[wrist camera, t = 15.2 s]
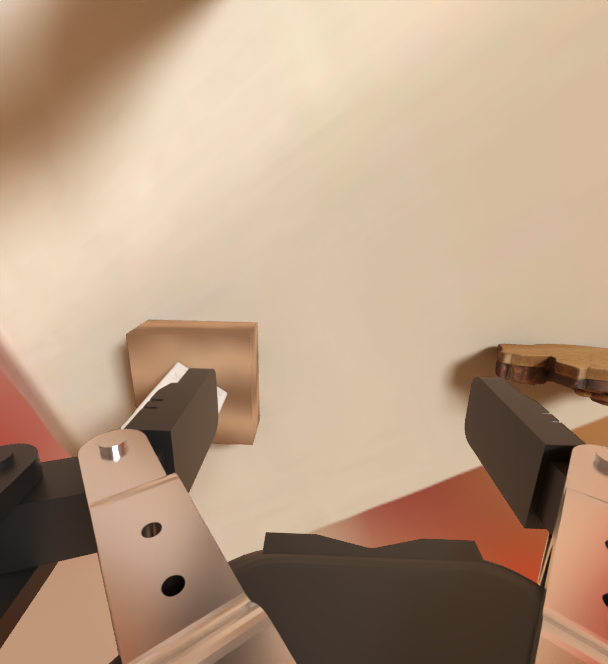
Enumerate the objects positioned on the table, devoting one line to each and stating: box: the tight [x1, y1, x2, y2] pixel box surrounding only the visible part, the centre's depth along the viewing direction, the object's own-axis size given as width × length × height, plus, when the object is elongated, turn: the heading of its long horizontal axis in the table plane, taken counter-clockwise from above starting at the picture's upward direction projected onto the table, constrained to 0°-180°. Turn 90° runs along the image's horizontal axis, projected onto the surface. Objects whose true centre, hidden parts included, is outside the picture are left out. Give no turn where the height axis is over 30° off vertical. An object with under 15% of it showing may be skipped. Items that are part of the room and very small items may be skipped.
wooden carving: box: [496, 344, 608, 406], centre depth 36 cm, size 16×5×10 cm, turn 93°
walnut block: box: [126, 320, 260, 445], centre depth 40 cm, size 12×12×5 cm
